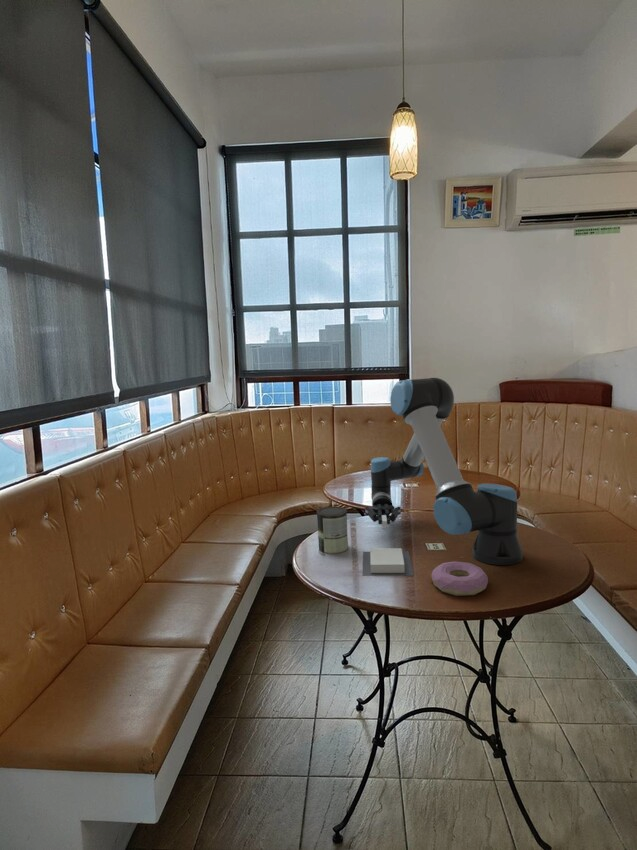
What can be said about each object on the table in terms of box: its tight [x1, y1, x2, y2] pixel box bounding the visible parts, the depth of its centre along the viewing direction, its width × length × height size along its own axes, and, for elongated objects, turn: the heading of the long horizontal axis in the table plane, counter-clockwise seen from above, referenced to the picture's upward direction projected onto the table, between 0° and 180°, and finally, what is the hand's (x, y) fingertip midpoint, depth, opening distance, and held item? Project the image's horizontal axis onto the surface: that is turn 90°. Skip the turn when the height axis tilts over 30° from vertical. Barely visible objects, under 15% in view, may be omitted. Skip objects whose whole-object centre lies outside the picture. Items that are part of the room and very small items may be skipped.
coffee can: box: [316, 506, 349, 556], centre depth 172 cm, size 10×10×14 cm
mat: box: [361, 550, 415, 577], centre depth 158 cm, size 15×19×1 cm
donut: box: [430, 561, 489, 597], centre depth 142 cm, size 16×15×5 cm
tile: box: [369, 547, 405, 573], centre depth 157 cm, size 10×3×13 cm
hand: (384, 525), depth 166 cm, fingers closed
